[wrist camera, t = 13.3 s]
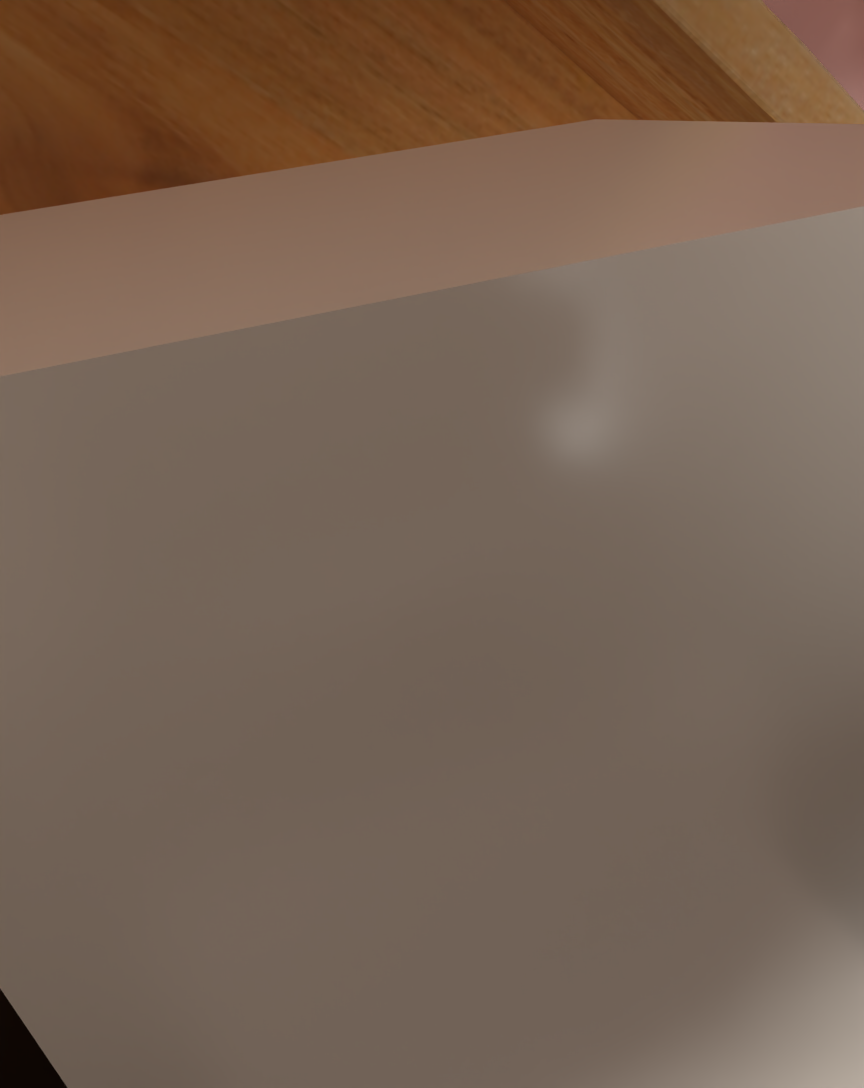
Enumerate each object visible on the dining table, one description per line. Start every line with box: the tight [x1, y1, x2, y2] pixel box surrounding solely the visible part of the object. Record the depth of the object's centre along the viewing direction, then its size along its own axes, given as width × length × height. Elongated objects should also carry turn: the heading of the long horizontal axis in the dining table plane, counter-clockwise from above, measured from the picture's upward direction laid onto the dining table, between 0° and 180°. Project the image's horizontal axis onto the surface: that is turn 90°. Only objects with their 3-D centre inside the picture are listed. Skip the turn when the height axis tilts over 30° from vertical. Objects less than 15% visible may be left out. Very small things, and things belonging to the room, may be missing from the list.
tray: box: [0, 0, 864, 215], centre depth 14 cm, size 31×15×6 cm, turn 57°
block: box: [0, 119, 864, 1088], centre depth 7 cm, size 10×5×5 cm, turn 7°
